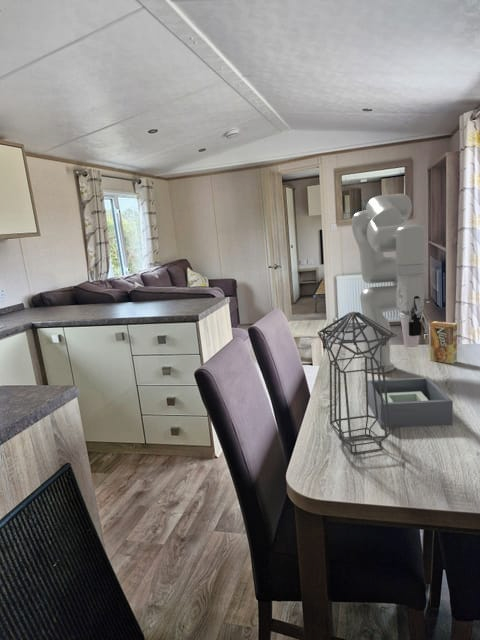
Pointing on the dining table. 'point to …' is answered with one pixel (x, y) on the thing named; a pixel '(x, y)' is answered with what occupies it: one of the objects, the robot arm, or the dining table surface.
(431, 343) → the candy box
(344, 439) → the geometric lantern
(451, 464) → the dining table surface
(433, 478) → the dining table surface
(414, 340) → the smoothie
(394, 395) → the bin
